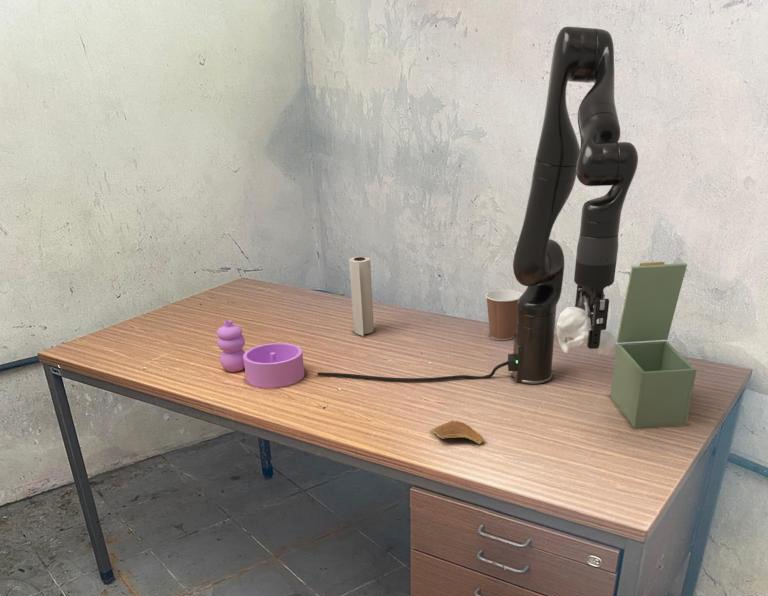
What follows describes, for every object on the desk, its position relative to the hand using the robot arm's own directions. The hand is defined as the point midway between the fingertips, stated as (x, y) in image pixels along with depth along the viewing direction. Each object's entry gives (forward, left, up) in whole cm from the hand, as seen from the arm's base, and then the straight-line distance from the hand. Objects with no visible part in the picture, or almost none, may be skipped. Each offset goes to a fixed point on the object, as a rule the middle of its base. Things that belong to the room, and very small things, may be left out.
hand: (587, 340), depth 154 cm
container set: (-73, +47, -21) cm, 89 cm away
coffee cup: (-5, +64, -21) cm, 68 cm away
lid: (+19, +17, +1) cm, 25 cm away
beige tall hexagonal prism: (-45, +75, -21) cm, 90 cm away
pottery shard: (-26, +3, -21) cm, 34 cm away
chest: (+19, +10, -21) cm, 30 cm away
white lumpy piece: (0, 0, -2) cm, 2 cm away
